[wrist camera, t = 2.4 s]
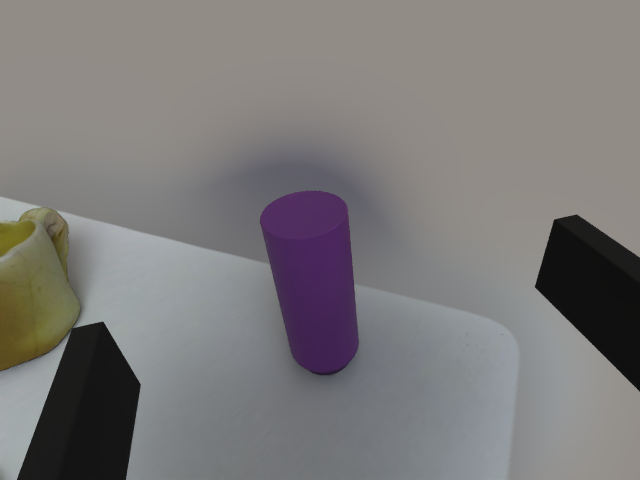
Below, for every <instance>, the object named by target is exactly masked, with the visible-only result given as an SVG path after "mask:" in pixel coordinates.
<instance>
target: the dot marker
mask: <svg viewBox="0 0 640 480" xmlns="http://www.w3.org/2000/svg"><path fill="white" fill-rule="evenodd" d="M260 223H261V227H262V232H263V236H264V240H265V244H266V248H267V253H268V257H269V261H270V266H271V270H272V274H273V278H274V282H275V287H276V291H277V295H278V299H279V303H280V308H281V312H282V316H283V320H284V324H285V329H286V333H287V337H288V341H289V346H290V350H291V353H292V356H293V358H294V359H295V361H296V362H297V363H298V364H299V365H301V366H302V367H304V368H305V369H307V370H309V371H310V372H312V373H314V374H318V375H331V374H334V373H337V372H339V371H341V370H342V369H343V368H345V367H346V366H347V364H348V363H349V362H350V361H351V360H352V358H353V357H354V356H355V354H356V352H357V349H358V345H359V339H358V327H357V315H356V303H355V291H354V280H353V267H352V255H351V243H350V230H349V219H348V209H347V205H346V203H345V202H344V201H343V200H342V199H341V198H340V197H338V196H336V195H334V194H331V193H328V192H322V191H303V192H297V193H292V194H289V195H286V196H283V197H281V198H279V199H277V200H275V201H273V202H272V203H271V204H269V205H268V206H267V207H266V208H265V209H264V211H263V212H262V215H261V218H260Z"/></svg>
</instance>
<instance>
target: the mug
mask: <svg viewBox="0 0 640 480" xmlns="http://www.w3.org/2000/svg"><path fill="white" fill-rule="evenodd" d="M68 234H69V230H68V224H67V222H66V221H65V220H64V219H63V217H62V216H61V215H60V214H59V213H58V212H57V211H55V210H53V209H51V208H47V207H43V208H36V209H31V210H29V211H26V212H25V213H24V214H23V215H22V216H21V217H20V219H19V221H18V222H15V221H0V371H2V370H6V369H9V368H10V367H13V366H15V365H18V364H21V363H23V362H26V361H29V360H31V359H34V358H36V357H38V356H41V355H44V354H46V353H47V352H49V351H51V350H52V349H53V348H55V347H56V346H57V345H58V343H59V342H60V341H61V340H62V339H63V338H64V337H65V336H66V334H67V333H68V331H69V330H70V329H71V328H72V327H73V325H74V323H75V322H76V320H77V318H78V315H79V311H80V305H79V301H78V299H77V297H76V295H75V294H74V292H73V290H72V289H71V287H70V286H69V280H68V274H67V260H66V258H67V255H68V246H69V242H68Z"/></svg>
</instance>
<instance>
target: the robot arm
mask: <svg viewBox="0 0 640 480" xmlns="http://www.w3.org/2000/svg"><path fill="white" fill-rule="evenodd" d="M535 288H536V289H537V290H538V291H539V292H540V293H541V294H542V295H543V296H544V297H545V298H546V299H548V300H549V302H550V303H552V305H553V306H554V307H555V308H556V309H558V311H560V313H561V314H562V315H563V316H564V317H565V318H566V319H567V320H569V321H570V322H571V323H572V324H573V325H574V326H575V327H576V328H577V329H578V330H579V331H580V332H581V333H582V334H583V335H584V336H585V337H586V338H587V339H588V340H589V341H590V342H591V343H592V344H593V345H594V346H595V347H596V348H597V349H598V350H599V351H600V352H601V353H602V354H603V355H604V356H605V357H606V358H607V359H608V360H609V361H610V362H611V363H612V364H613V365H614V366H615V367H616V368H617V369H618V370H619V371H620V372H621V373H622V374H623V375H624V376H625V377H626V378H627V379H628V380H629V381H630V382H631V383H632V384H633V385H634V386H635V387H636V388H637V389H638V390H639V391H640V257H638V256H636V255H635V254H634V253H632V252H631V251H629V250H628V249H626V248H625V247H623V246H622V245H620V244H619V243H618V242H616V241H615V240H613V239H612V238H610V237H609V236H607V235H606V234H605V233H603V232H601V231H600V230H599V229H597V228H596V227H594V226H593V225H591V224H590V223H589V222H587V221H586V220H584V219H583V218H581V217H580V216H578V215H573V216H568V217H563V218H559V219H555V220H554V222H553V226H552V229H551V233H550V236H549V240H548V243H547V247H546V250H545V253H544V257H543V261H542V264H541V267H540V271H539V274H538V278H537V281H536V285H535ZM140 386H141V384H140V383H139V381H138V379H137V377H136V376H135V374H134V372H133V371H132V369H131V367H130V366H129V364H128V362H127V361H126V359H125V357H124V356H123V354H122V352H121V351H120V349H119V347H118V346H117V344H116V342H115V341H114V339H113V337H112V336H111V334H110V332H109V330H108V329H107V327H106V325H105V324H104V322H99V323H94V324H90V325H85V326H81V327H77V328H72V331H71V334H70V336H69V339H68V342H67V345H66V347H65V350H64V353H63V355H62V358H61V361H60V364H59V366H58V369H57V372H56V375H55V377H54V380H53V383H52V385H51V388H50V391H49V394H48V396H47V399H46V402H45V405H44V407H43V410H42V413H41V415H40V418H39V421H38V424H37V426H36V429H35V432H34V435H33V437H32V440H31V443H30V445H29V448H28V451H27V454H26V456H25V459H24V462H23V465H22V467H21V470H20V473H19V475H18V478H17V480H126V476H127V469H128V463H129V457H130V450H131V444H132V437H133V431H134V425H135V418H136V412H137V406H138V399H139V393H140Z"/></svg>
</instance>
